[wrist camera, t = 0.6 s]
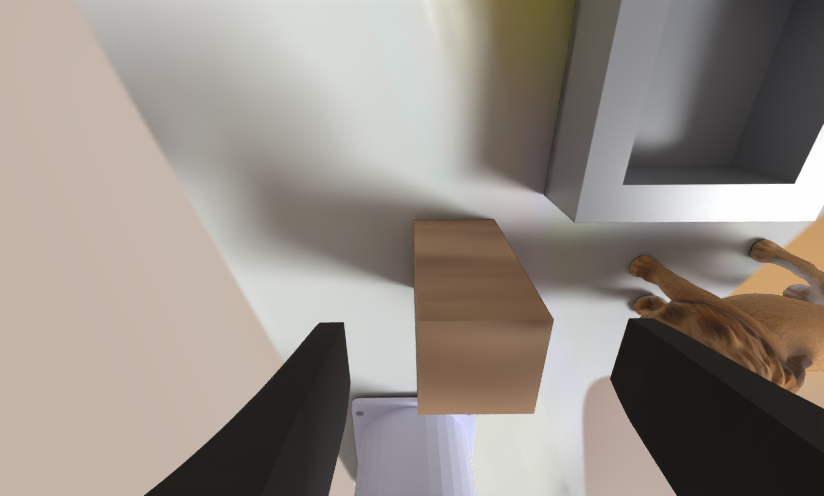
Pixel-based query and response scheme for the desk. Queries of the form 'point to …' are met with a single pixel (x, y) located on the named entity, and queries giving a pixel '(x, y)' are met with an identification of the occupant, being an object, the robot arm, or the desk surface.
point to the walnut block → (475, 321)
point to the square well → (691, 112)
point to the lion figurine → (747, 317)
